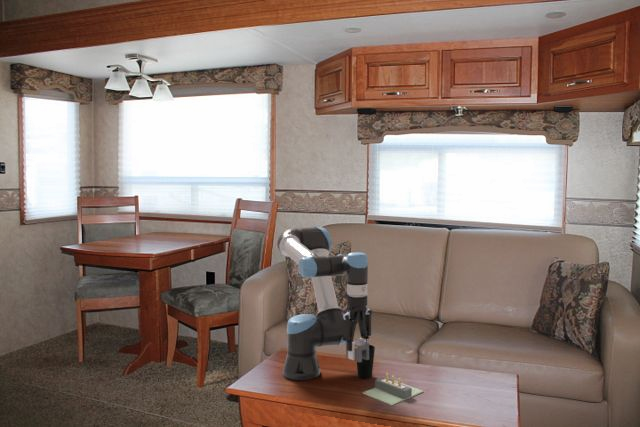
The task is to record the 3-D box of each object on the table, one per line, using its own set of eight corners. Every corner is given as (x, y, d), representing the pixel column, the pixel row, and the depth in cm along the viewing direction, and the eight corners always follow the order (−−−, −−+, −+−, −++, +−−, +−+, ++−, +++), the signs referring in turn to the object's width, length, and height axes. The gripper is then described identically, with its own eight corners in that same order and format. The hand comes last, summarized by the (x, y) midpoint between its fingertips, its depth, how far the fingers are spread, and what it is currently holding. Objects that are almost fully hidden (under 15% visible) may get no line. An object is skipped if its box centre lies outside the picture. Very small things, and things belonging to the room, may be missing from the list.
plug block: (346, 358, 201) (345, 342, 200) (355, 355, 204) (355, 339, 204) (359, 362, 195) (359, 346, 195) (369, 359, 199) (369, 343, 198)
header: (362, 393, 199) (362, 376, 199) (394, 381, 211) (394, 365, 211) (391, 405, 189) (391, 387, 188) (423, 392, 201) (423, 375, 200)
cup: (373, 380, 212) (373, 350, 211) (353, 379, 213) (354, 349, 212) (375, 373, 219) (375, 344, 218) (356, 372, 221) (356, 343, 220)
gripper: (346, 300, 190) (346, 365, 191) (381, 293, 202) (381, 354, 203) (332, 296, 196) (331, 360, 197) (367, 290, 207) (366, 350, 209)
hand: (356, 357), depth 200 cm, fingers closed on plug block, 5 cm apart
